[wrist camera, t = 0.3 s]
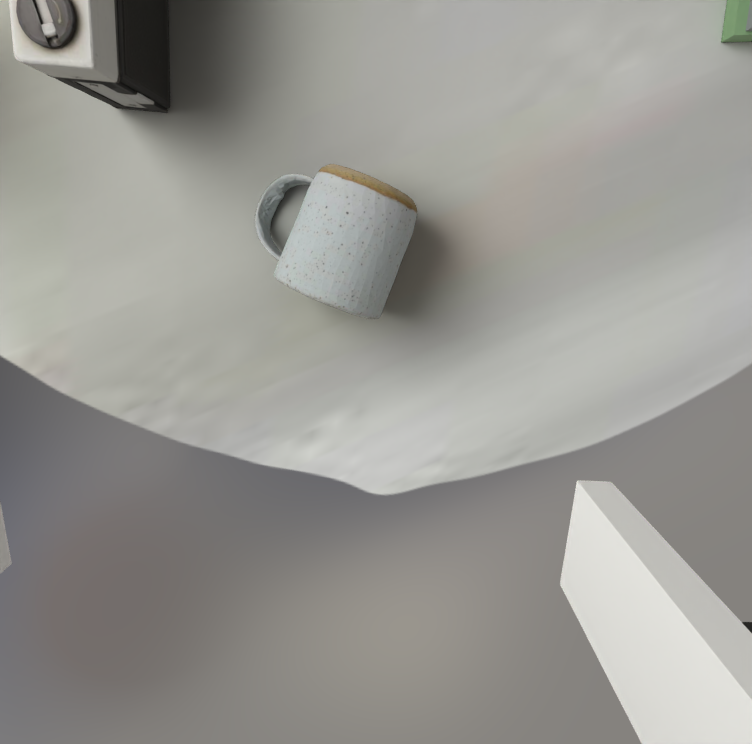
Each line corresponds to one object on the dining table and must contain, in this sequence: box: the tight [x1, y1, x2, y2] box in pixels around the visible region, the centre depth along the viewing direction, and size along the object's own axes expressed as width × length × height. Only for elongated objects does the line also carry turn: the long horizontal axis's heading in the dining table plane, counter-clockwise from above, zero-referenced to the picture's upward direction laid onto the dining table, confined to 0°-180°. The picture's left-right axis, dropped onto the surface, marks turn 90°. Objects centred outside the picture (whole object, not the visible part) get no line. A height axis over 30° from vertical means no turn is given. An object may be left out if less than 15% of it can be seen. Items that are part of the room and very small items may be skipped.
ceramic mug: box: [255, 164, 417, 319], centre depth 33 cm, size 11×8×8 cm
